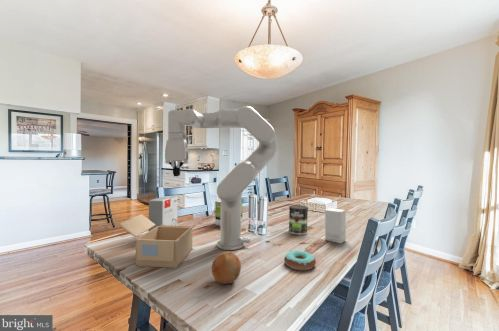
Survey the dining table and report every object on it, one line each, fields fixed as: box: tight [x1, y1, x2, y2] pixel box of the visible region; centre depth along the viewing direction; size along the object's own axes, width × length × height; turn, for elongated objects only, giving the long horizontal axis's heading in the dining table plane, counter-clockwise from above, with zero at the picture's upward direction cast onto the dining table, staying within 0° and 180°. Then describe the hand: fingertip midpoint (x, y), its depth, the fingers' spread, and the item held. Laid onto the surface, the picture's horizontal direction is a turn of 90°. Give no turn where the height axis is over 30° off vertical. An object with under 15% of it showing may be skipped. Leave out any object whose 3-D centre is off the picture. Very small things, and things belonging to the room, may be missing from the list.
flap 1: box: [118, 213, 155, 238], centre depth 101 cm, size 1×16×8 cm
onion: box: [211, 250, 242, 285], centre depth 81 cm, size 10×10×10 cm
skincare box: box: [324, 207, 347, 244], centre depth 123 cm, size 8×7×16 cm
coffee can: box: [288, 204, 309, 236], centre depth 136 cm, size 10×10×14 cm
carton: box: [135, 225, 193, 269], centre depth 100 cm, size 16×20×10 cm
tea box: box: [214, 198, 243, 227], centre depth 151 cm, size 15×10×15 cm, turn 144°
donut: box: [283, 250, 317, 271], centre depth 95 cm, size 12×12×4 cm
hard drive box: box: [147, 195, 179, 232], centre depth 125 cm, size 16×8×20 cm, turn 168°
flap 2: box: [179, 214, 208, 239], centre depth 99 cm, size 1×16×8 cm
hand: (176, 176), depth 115 cm, fingers closed
